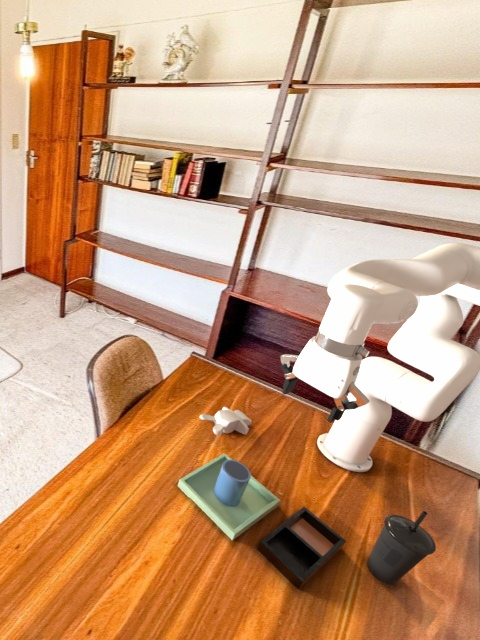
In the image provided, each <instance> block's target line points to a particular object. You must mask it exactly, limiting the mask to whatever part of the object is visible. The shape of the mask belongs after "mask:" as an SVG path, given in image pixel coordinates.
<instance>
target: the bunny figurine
mask: <svg viewBox="0 0 480 640" xmlns="http://www.w3.org/2000/svg"><path fill="white" fill-rule="evenodd" d="M199 419H200V420H202V421H206V422H207V421H209V422H214V426H213V427H212V432H213V434H214V435H216V436H221V435H222V434H223V433H224V434H230V433H233V432H234V431H236V432H238V433H240V434H243V435H247V434H248V432H249V430H250V428H249V426H251V424H252V422H253V421H252V419H251V418H249V417H248V416H247V415H246V414H245V413H244V411H243V412H242V411H240V409H235V410H232V409H230V408H229V407H227V406H223V407H222V408H221V409H220V410H218V411H217V412H216V413H215V414H214V415H211V414H207V413H202V414H200V415H199Z"/></svg>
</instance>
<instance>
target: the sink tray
mask: <svg viewBox="0 0 480 640" xmlns="http://www.w3.org/2000/svg"><path fill="white" fill-rule="evenodd" d="M230 459H231V460H233V459H232V458H231V457H230V456H229V455H227V454H226V453H225V452H224V453H222V454H220V455H218V456H217V457H215V458H214V459H211V460H210V461H208V462H207V463H205V464H204V465H201V466H200V467H198V468H196V469H195V470H193V471H191V472H190V473H188V474H186V475H185V476H182V477H181V478H179V480H178V483H177V487H178V489H179V490H181V492H182V493H184V494H185V495H186V496H187V497H188V498H190V499H191V500H192V501H193V502H194V503H195V504H196V505H197V507H199V509H200V510H202V512H204V513H205V514H206V515H207V517H208V518H210V520H211V521H212V522H213V523H214V524H215V525H216V526H217V527H218V528H219V529H220V530H221V531H222V532H223V533H224V534H225V535H226V536H227V537H228V538H229V539H230V540H231V541H234V540H235V539H236V538H238V537H239V536H241V535H242V534H243V533H245V532H246V531H247V530H248V529H250V528H251V527H252V526H254V525H255V524H257V522H259V521H261V520H262V519H263V518H265V517H266V516H267V515H269V514H270V513H271V512H272V511H274V510H275V509H277V508H278V507H279V505H280V503H281V499H279V498H278V497H277V496H276V495H275V494H274V493H272V492H271V491H270V490H269V489H268V488H267V487H266V486H264V485H263V484H262V483H260V481H259V480H257V479H256V478H255V477H253V475H251V478H250V480H249V483H248V485H247V487H246V490H245V492H244V495H243V497H242V499H241V502H240V504H239V505H238V506H235V507H230V506H227V505H225V504H223V503H221V502H220V501H219V500H218V499H217V498H216V496H215V495H214V491H213V489H214V486H215V483H216V480H217V478H218V475H219V472H220V469H221V467H222V464H223V462H224V461H225V460H230Z"/></svg>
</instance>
